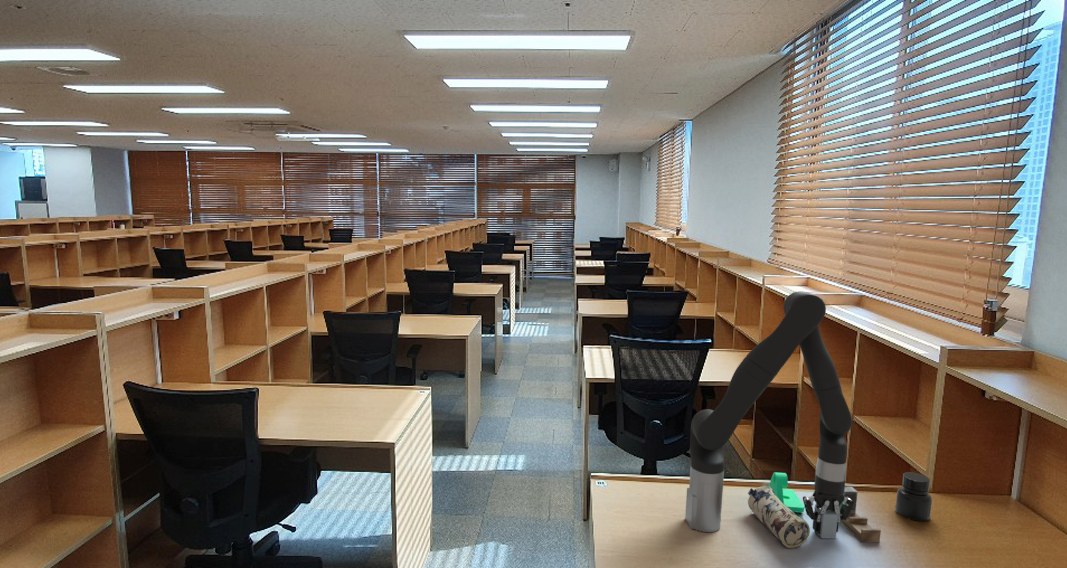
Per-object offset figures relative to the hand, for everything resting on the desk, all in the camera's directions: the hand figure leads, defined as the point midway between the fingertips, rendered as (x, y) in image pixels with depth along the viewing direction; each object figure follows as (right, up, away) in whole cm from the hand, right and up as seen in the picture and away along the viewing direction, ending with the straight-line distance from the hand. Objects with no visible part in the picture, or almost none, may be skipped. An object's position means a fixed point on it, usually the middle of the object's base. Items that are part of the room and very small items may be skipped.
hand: (825, 532), depth 169 cm
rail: (+11, 0, +4) cm, 12 cm away
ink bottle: (+33, 0, +13) cm, 35 cm away
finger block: (0, -1, 0) cm, 1 cm away
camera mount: (-4, +1, +17) cm, 18 cm away
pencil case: (-13, -1, +2) cm, 13 cm away
